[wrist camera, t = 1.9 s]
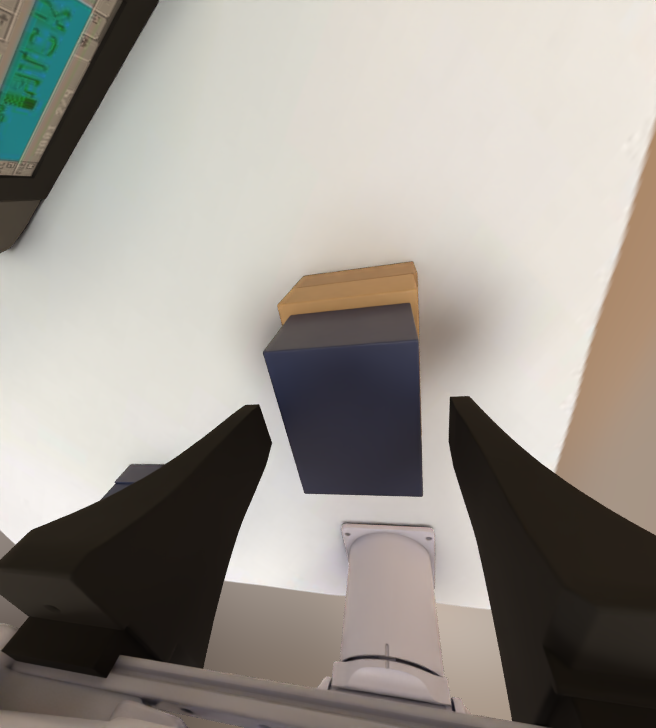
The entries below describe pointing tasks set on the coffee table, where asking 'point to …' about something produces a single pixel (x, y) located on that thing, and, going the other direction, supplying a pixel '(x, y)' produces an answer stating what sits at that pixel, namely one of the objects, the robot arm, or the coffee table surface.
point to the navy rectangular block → (351, 399)
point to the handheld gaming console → (53, 89)
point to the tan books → (354, 291)
